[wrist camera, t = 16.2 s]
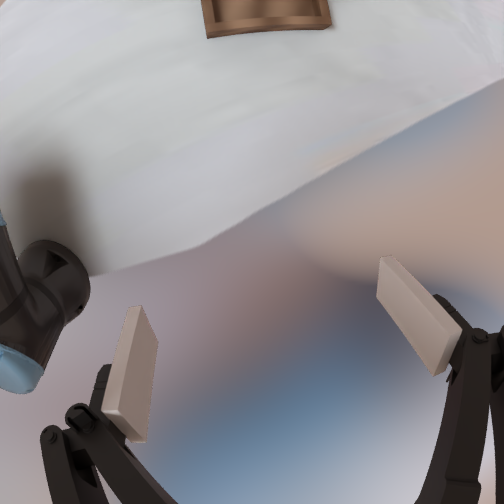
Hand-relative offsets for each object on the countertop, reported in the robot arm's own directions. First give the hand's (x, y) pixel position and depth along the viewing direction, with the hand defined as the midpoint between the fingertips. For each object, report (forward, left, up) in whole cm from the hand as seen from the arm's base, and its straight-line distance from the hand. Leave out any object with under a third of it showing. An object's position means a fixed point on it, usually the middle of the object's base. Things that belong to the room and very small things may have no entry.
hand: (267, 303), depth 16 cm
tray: (+8, +28, -29) cm, 41 cm away
